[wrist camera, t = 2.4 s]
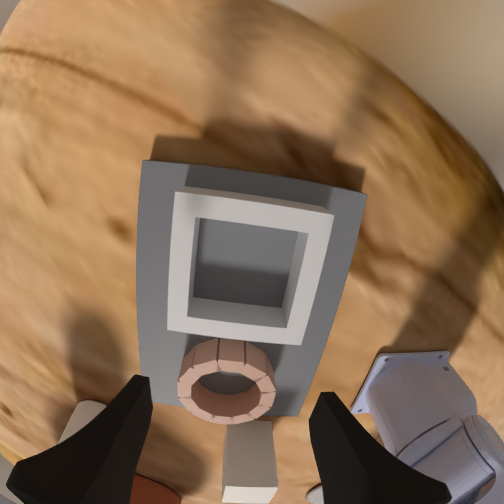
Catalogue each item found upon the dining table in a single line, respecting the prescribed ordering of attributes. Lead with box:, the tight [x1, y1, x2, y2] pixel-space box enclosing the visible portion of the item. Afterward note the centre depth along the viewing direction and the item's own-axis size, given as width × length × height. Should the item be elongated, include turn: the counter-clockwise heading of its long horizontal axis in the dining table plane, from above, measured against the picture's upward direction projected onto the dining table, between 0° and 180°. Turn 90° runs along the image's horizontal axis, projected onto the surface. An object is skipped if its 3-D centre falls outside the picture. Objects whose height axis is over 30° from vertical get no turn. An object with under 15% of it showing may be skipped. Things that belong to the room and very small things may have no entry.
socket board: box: [136, 160, 367, 425], centre depth 20 cm, size 14×20×4 cm
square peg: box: [222, 420, 278, 503], centre depth 23 cm, size 4×4×8 cm
